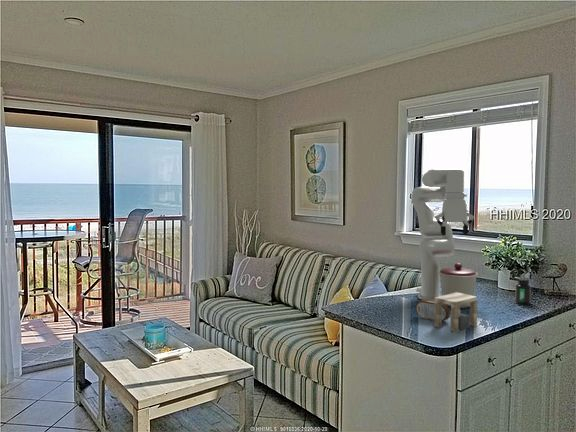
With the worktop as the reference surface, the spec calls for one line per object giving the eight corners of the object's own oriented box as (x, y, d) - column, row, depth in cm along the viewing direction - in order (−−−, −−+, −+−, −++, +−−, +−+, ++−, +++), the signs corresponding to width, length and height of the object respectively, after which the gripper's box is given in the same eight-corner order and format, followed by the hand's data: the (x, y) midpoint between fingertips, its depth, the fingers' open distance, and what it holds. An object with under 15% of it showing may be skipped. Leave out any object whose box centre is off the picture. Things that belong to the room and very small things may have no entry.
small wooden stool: (434, 326, 190) (434, 297, 189) (456, 320, 198) (456, 292, 197) (455, 332, 181) (455, 302, 181) (476, 325, 190) (477, 296, 189)
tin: (450, 322, 196) (450, 303, 195) (447, 323, 193) (447, 304, 193) (417, 315, 206) (417, 297, 205) (414, 317, 203) (414, 299, 203)
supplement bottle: (523, 305, 220) (524, 281, 219) (512, 302, 226) (512, 278, 225) (533, 304, 222) (534, 280, 222) (522, 300, 229) (522, 277, 228)
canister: (481, 311, 211) (481, 267, 210) (441, 309, 215) (441, 266, 213) (473, 301, 229) (474, 260, 227) (436, 300, 232) (436, 259, 231)
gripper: (470, 196, 204) (469, 233, 205) (432, 196, 204) (432, 234, 205) (477, 196, 196) (477, 235, 198) (438, 197, 196) (438, 236, 197)
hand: (454, 234), depth 201 cm, fingers open, 9 cm apart
